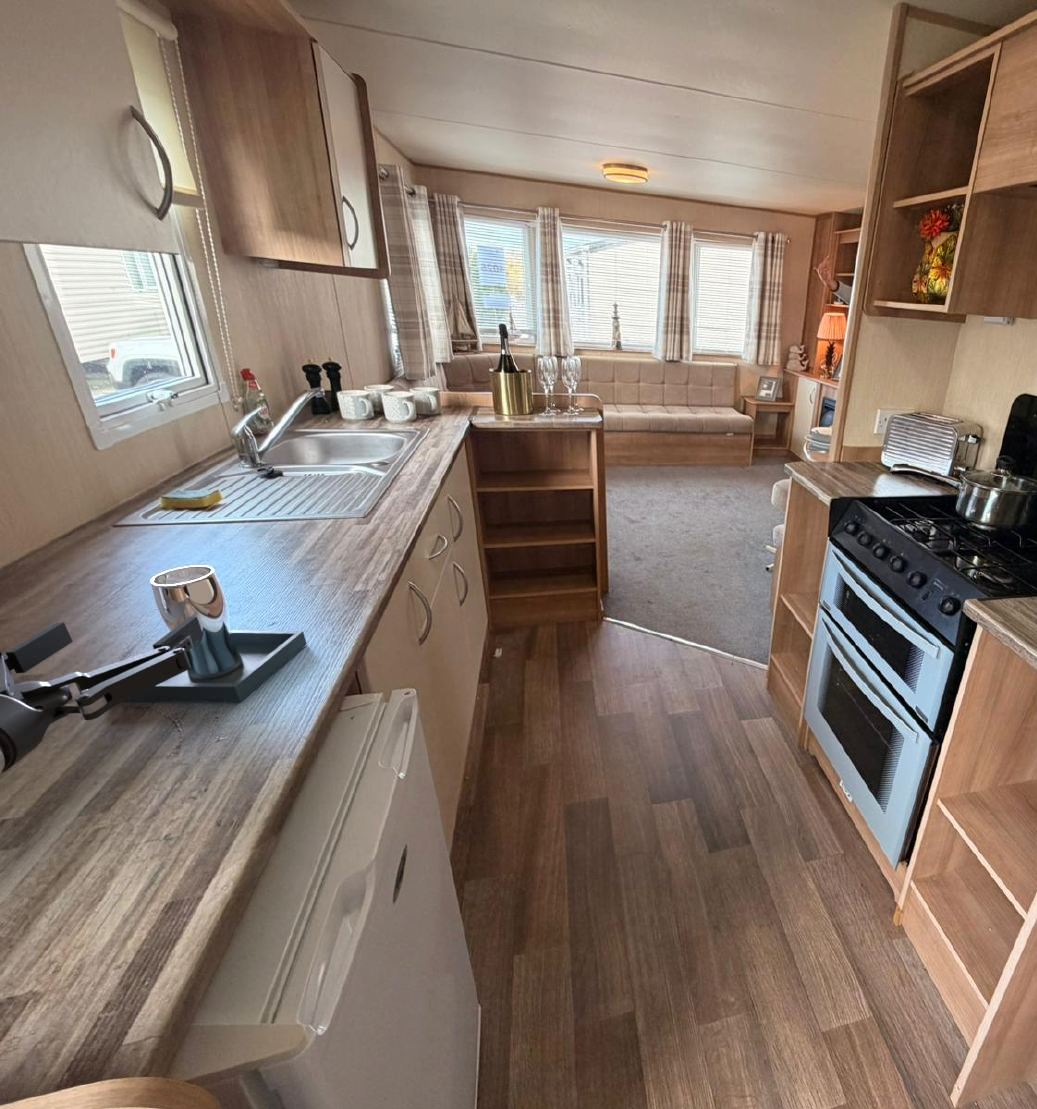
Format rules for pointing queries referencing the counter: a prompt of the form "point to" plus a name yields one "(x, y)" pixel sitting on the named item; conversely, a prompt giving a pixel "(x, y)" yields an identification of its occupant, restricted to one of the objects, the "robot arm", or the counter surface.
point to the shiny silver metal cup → (198, 617)
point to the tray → (258, 664)
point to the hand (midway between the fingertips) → (132, 628)
